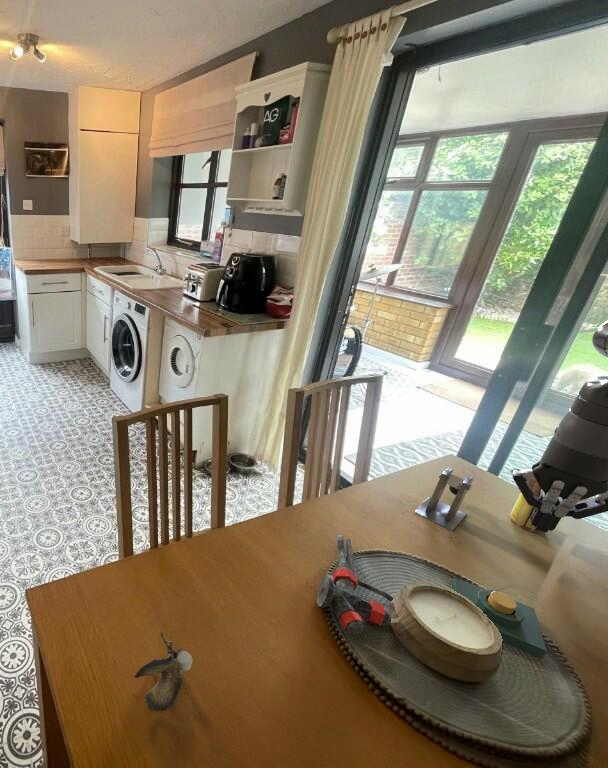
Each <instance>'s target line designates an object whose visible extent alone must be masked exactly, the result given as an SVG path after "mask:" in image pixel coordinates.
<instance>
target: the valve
mask: <svg viewBox="0 0 608 768" xmlns="http://www.w3.org/2000/svg"><path fill="white" fill-rule="evenodd" d="M336 543H337V552H338V563H339V565H338V567H337V568H335V570H334V572H333V574H332V575H331V574H329V573H326V574H324V576H323V577H322V579H321V580H320V583H319V586H318V589H317V593H316V604H317V607H318V608H321V609H324V608H326V607H327V606H328V605H330V606H331V608H332V610H333V612H334V613H335V615H336V617H337V618H338V619H339V622H340V625H341V627H343V629H344V630H345V631H347V632H348V633H349V634H352V635H359V634H361V633H362V632H363V631H364V629H365V625H364V622H365V623H366V622H367V623H368V622H369V623H368V624H370V623H371V624H370V625H373V624H374V625H373V626H375V625H376V626H375V627H380V626H383V627H386V626H388V625H389V624H391V623H390V622H391V618H392V617H391V614H390V612H389V611H388V610H387V609H385V606H384V605H383V604H382V603H380V602H377V601H374V600H369V601H368V600H367V599H365V598H362V597H361V596H360V595H359V594H356V590H357V587H358V586H359V587H362V588H364V589H366V590H368V591H371V592H373V593H374V594H377V595H379V596H381V597H383V598H384V599H386V600H387V601H389V602H390V603H391V601H392V600H393V599H395V597H393V596H392V595H390V594H389V593H388V592H386V591H385V590H382V589H381V588H377V587H376V586H374V585H371V584H369V583H367V582H364V581H362V580H361V579H359V578H358V577H357V575H356V571H355V564H354V557H353V549H352V548H353V547H352V540H351V539H350V538H345V539H344V536H343V535H342V534H338V535H336ZM345 545H346V546H345ZM345 547H346V548H345ZM345 549H346V550H345ZM346 556H347V557H346ZM347 563H348V567H347ZM390 617H391V618H390ZM363 619H364V620H363Z"/></svg>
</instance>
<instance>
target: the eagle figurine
mask: <svg viewBox="0 0 608 768" xmlns="http://www.w3.org/2000/svg"><path fill="white" fill-rule="evenodd" d="M159 634H160V638H161V639H162V641H163V643H164V644H165V648H166V651H167V657H166V658H160V659H157V658H154V659H152V660H151V661H149V662H147V663H146V664H144V665H143V666H141V667H140V668H139V669H138V670H137V672H136V673H135V674H134V675H133V678H135V679H138V678H141V677H152V676H155V675H158V674H160V677H159V679H158V680H157V682H156V683H155V684H154V686H153V687H152V688H150V689H149V690H148V691H147V692H146V693H145V695H144V698H145V703H146V707H147V708H149V710H150V711H153V710H154V712H158V711H159V712H163V711H167V710H168V709H170V708H171V707H172V705H174V702H175V700H176V699H177V696H178V694H179V691H181V689H182V686H183V677H182V676H181V670H182V671H186V672H187V671H188V672H189V671H190V669H191V668H192V666H193V662H194V661H193V657H192V655H191V654H190V653H189V652H187V651H185V650H183V646H180V647H179V648H178V649H174V648H173V641H172V640H169V641H168V640H167V638H166V637H165V635H164V633H163V632H162V631H160V632H159Z"/></svg>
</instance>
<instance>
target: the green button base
mask: <svg viewBox="0 0 608 768" xmlns="http://www.w3.org/2000/svg"><path fill="white" fill-rule="evenodd" d="M451 582H452V583H451V584H452V589H453V590H454V591H456V592H457V593H460V594H461V595H463V596H465V597H466V598H468V599H469V600H471V601H472V602H473V603H474V604H475V605H476V606H477V607H479V608H480V609H481V610H482V611H483V613H484V614H486V615H487V617H488V618H489V619H490V620H491V621H492V622H493V623H494V625H495V626H496V627H497V628H498V630H499V632H500V633H501V636H502V639H503V642H502V643H504V644H506V645H507V646H508V645H509V646H511V647H513V648H515V647H516V648H515V649H518V650H520V651H522V652H525V653H527V654H529V655H531V656H534V657H536V658H539V659H543V657H544V656H545V654H546V653H547V646H546V644H545V640H544V637H543V634H542V630H541V626H540V624H539V619H538V617H537V613H536V611H535V610H536V609H535V608H534V607H532V606H530V605H527V604H524V603H522V602H519V601H517V600H514V601H515V603H516V605H517V607H516V609H515V610H514V612H513V613H512V614H510V615H507V614H504V613H501V612H499V611H497V610H496V609H494V608H493V607H491V606H490V604H489V603H488V598H489V596H490V594H491V593H492V592H494V591H495V590H493V589H486V588H483V587H480V586H478V585H475V584H473V583H471V582H468V581H465V580H462V579H460V578H457V577H454V578H453V580H452V581H451Z"/></svg>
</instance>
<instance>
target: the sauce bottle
mask: <svg viewBox="0 0 608 768" xmlns="http://www.w3.org/2000/svg"><path fill="white" fill-rule="evenodd" d="M531 480H532V482H531V483H529V486H530V488H531V490H532V491H533V493H534V495H535V496H537V497H538V498H539V497H540V494H541V488H540V486H539V484H538V482H537V480H536V478H535V476H533V477H532V478H531ZM535 508H536V507H534V506H530V505H529V504H528V503H527V502H526V500H525V498H524V496H523V495H522V493H521V492H520V493H519V495H518V497H517V500H516V502H515V503H514V506H513V508H512V510H511V512H510V514H509V520H510V521H511V523H513V524H514V525H515V526H517V527H519V528H521V529H523V530H525V531H527V532H531V533H538V534H539V533H543V531H539V530H536V529H534V526H533V525H532V524H531V521H530V517H531V515H532V513H533V511H534V510H535Z"/></svg>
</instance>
